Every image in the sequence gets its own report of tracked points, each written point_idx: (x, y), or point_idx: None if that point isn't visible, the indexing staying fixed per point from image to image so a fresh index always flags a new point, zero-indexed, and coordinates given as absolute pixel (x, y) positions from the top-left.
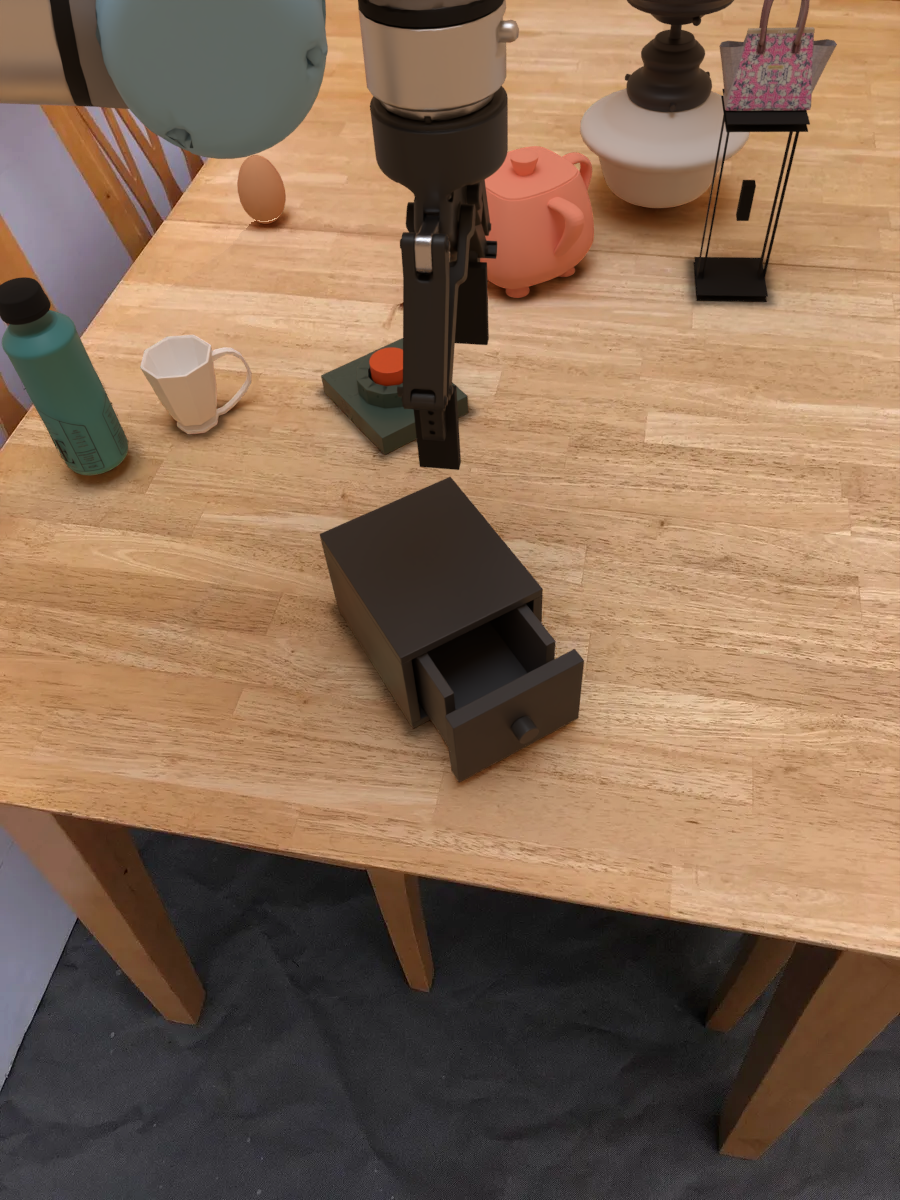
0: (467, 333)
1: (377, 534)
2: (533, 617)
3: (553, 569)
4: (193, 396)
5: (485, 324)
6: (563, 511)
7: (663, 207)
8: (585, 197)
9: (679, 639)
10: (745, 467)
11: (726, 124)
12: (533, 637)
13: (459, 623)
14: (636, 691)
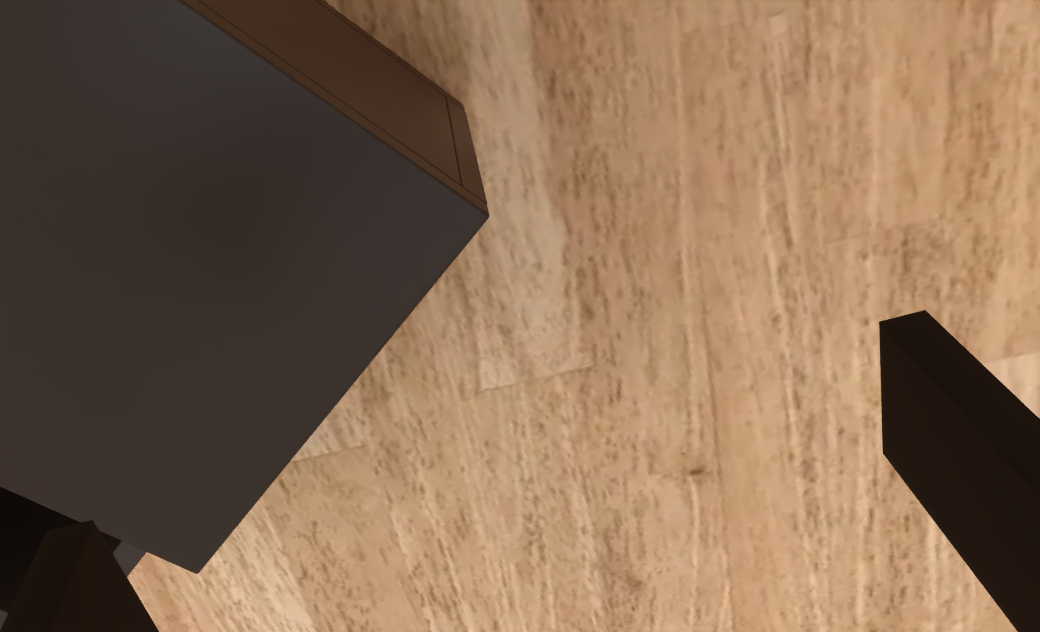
0: (910, 414)
1: (137, 105)
2: (137, 551)
3: (501, 328)
4: None
5: (938, 518)
6: (682, 289)
7: None
8: None
9: (418, 572)
10: (884, 553)
11: None
12: (112, 541)
13: None
14: (271, 549)
